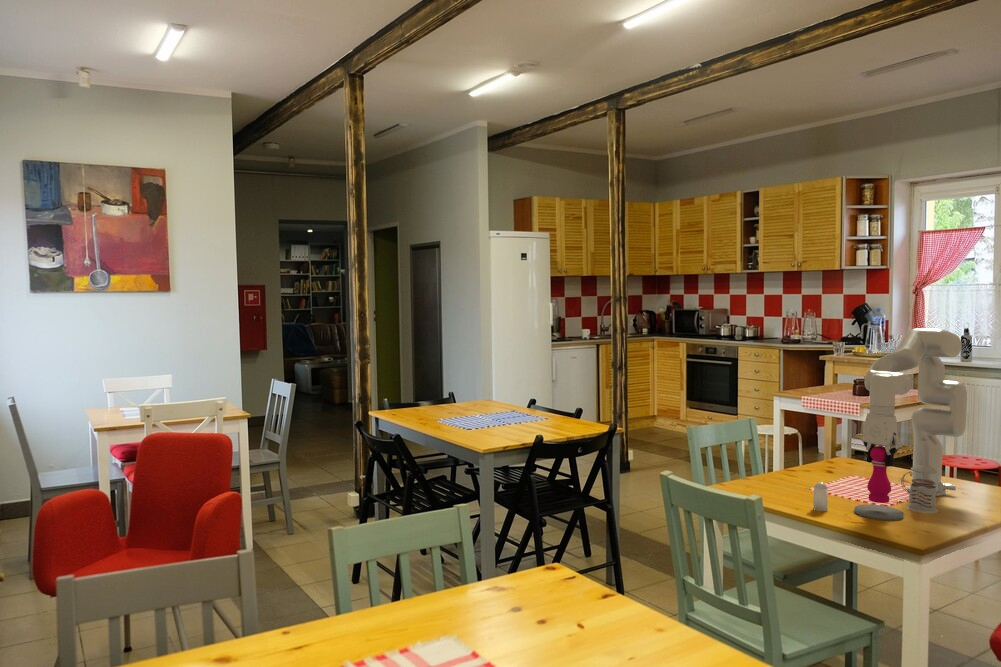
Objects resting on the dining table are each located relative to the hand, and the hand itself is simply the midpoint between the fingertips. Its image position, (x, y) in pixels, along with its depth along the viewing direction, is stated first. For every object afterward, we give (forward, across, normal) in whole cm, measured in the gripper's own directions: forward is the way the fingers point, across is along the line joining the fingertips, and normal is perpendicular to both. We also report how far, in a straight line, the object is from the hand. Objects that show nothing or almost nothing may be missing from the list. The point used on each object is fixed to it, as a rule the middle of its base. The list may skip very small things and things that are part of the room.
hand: (880, 463), depth 257 cm
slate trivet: (+17, 0, 0) cm, 17 cm away
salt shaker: (+17, -12, -14) cm, 25 cm away
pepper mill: (+13, 0, 0) cm, 13 cm away
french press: (+17, +1, +19) cm, 26 cm away
